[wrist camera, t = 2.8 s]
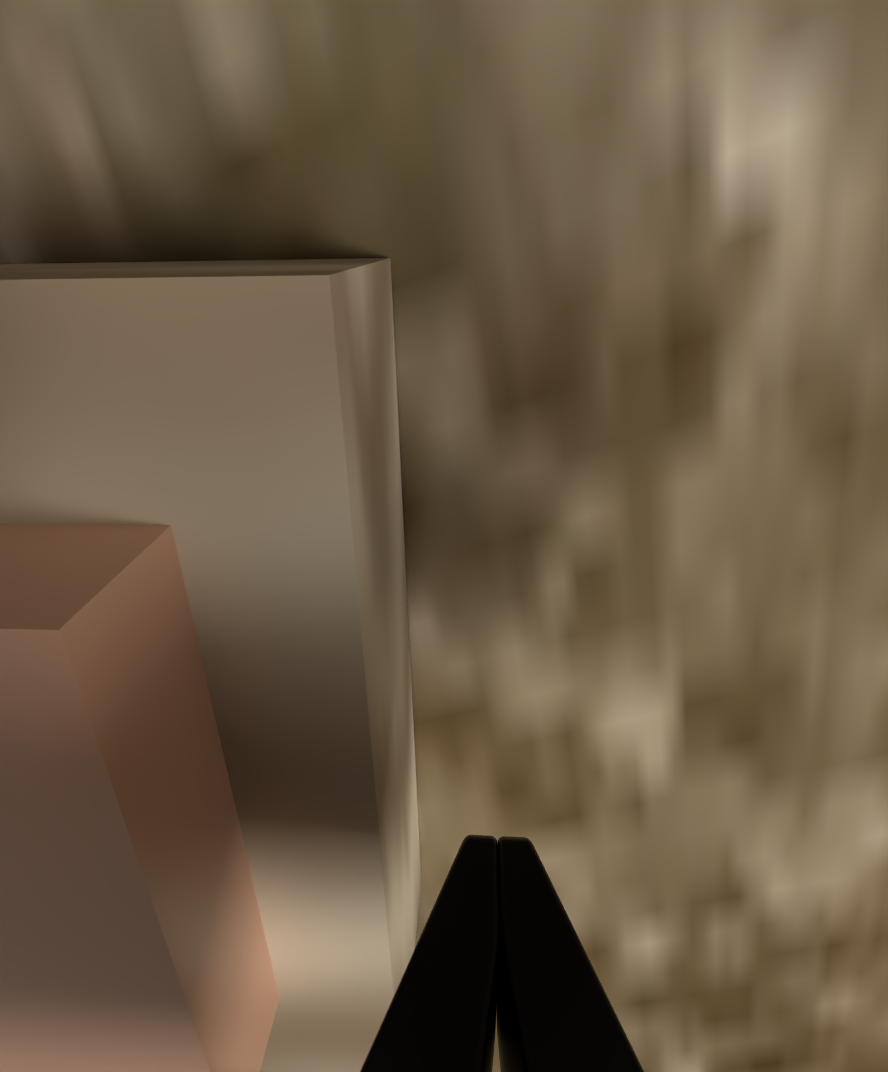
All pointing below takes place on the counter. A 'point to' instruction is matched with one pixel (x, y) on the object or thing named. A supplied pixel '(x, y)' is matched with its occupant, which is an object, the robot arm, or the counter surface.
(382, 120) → the counter surface
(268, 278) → the board
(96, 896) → the tile
